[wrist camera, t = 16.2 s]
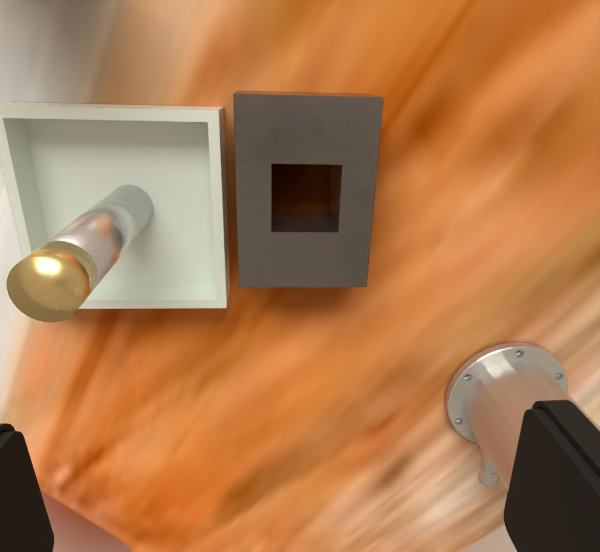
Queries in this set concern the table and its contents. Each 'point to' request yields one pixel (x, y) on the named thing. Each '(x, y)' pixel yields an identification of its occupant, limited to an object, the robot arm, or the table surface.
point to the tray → (126, 171)
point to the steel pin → (78, 256)
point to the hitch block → (305, 150)
